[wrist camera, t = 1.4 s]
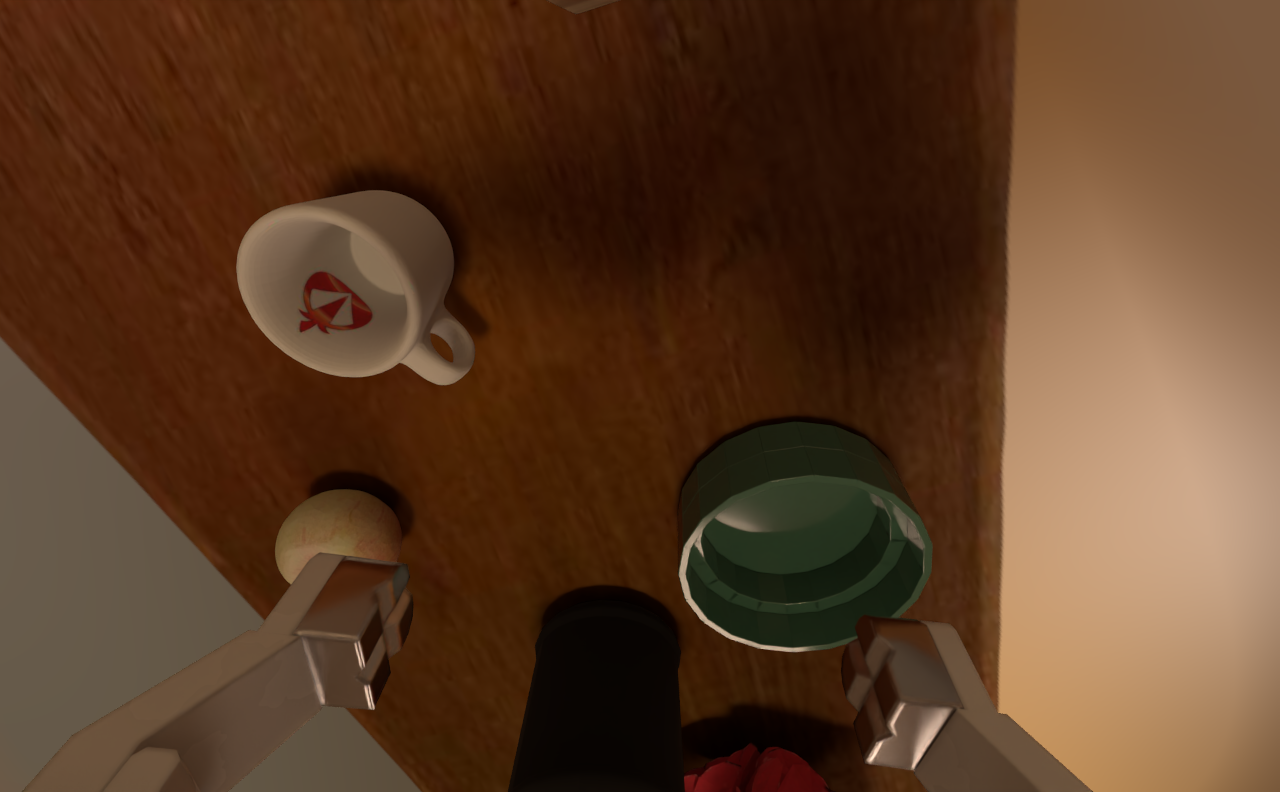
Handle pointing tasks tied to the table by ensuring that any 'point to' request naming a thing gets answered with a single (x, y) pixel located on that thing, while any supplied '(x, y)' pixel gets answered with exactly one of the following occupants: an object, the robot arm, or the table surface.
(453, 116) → the table surface
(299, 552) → the fruit
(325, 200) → the cup
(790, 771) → the bouquet
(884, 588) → the green pet bowl
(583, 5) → the plain beige block
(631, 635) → the container
